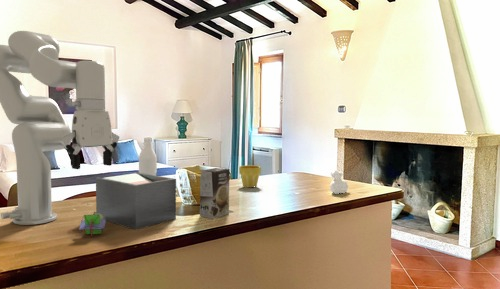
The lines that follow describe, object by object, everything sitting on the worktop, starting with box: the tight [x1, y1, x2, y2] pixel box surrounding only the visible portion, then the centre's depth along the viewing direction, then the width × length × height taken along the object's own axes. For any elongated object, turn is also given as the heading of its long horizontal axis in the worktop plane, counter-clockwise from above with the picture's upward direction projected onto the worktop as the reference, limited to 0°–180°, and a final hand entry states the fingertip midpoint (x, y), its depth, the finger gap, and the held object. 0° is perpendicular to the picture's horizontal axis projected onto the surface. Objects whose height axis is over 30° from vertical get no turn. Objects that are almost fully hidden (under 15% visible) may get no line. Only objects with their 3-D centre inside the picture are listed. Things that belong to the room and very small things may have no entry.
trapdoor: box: [104, 172, 152, 185], centre depth 131 cm, size 13×14×1 cm
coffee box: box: [199, 167, 231, 220], centre depth 136 cm, size 9×6×16 cm
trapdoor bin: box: [95, 171, 177, 231], centre depth 130 cm, size 16×21×14 cm
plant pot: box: [238, 164, 262, 188], centre depth 189 cm, size 10×10×10 cm
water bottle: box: [138, 137, 158, 176], centre depth 157 cm, size 7×7×25 cm
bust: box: [329, 170, 349, 195], centre depth 179 cm, size 12×8×11 cm
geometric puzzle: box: [78, 211, 107, 239], centre depth 112 cm, size 7×7×8 cm
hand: (92, 166), depth 111 cm, fingers open, 9 cm apart
